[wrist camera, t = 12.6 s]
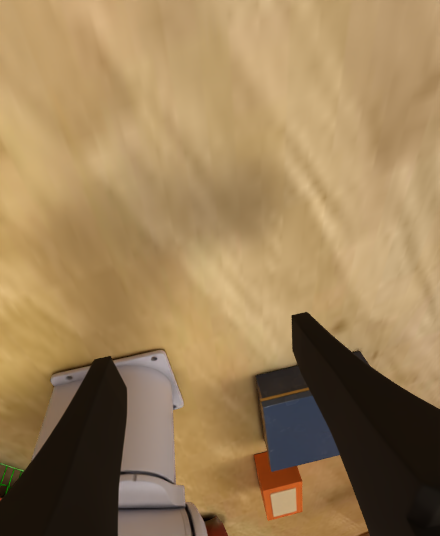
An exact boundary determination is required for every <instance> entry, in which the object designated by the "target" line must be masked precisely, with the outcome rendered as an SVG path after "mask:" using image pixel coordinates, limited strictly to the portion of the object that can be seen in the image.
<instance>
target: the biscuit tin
mask: <svg viewBox="0 0 440 536" xmlns="http://www.w3.org/2000/svg"><path fill="white" fill-rule="evenodd" d="M354 354H355V355H356V356H357V357H359V358H360V359H361V360H363V361H364V362H365V363H367V364H368V362H367V361H366V359H365V358H364V357H363V355H362V354H361V352H360V351H358V352H354ZM368 365H369V364H368ZM369 366H370V365H369ZM256 384H257V391H258V398H259V405H260V412H261V420H262V427H263V434H264V440H265V444H266V448H267V453H268V461H269V466H270V469H271V472H273V471H277V470H281V469H285V468H289V467H293V466H297V465H301V464H305V463H309V462H313V461H317V460H321V459H325V458H329V457H333V456H337V455H340V454H339V451H338V449H337V446H336V444H335V441H334V439H333V436H332V434H331V432H330V430H329V428H328V425H327V423H326V421H325V420H324V418H323V416H322V414H321V412H320V410H319V408H318V406H317V404H316V402H315V400H314V398H313V396H312V394H311V392H310V390H309V388H308V386H307V384H306V382H305V380H304V378H303V376H302V374H301V372H300V369H299V366H294V367H290V368H286V369H281V370H277V371H273V372H269V373H264V374H260V375H256Z"/></svg>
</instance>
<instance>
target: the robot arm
mask: <svg viewBox="0 0 440 536" xmlns="http://www.w3.org/2000/svg"><path fill="white" fill-rule="evenodd" d="M292 349H293V353H294V356H295V358H296V361H297V364H298V366H299V369H300V372H301V374H302V376H303V378H304V380H305V382H306V384H307V386H308V388H309V390H310V392H311V394H312V396H313V398H314V400H315V402H316V404H317V406H318V408H319V410H320V412H321V414H322V416H323V418H324V420H325V421H326V423H327V425H328V428H329V430H330V432H331V434H332V436H333V439H334V441H335V444H336V446H337V449H338V451H339V454H340V456H341V459H342V461H343V464H344V466H345V469H346V471H347V474H348V477H349V479H350V482H351V484H352V487H353V490H354V492H355V495H356V498H357V500H358V503H359V506H360V509H361V511H362V514H363V517H364V519H365V522H366V525H367V528H368V531H369V534H370V536H440V409H438V408H436V407H435V406H433V405H431V404H429V403H427V402H426V401H424V400H422V399H420V398H418V397H417V396H415V395H413V394H411V393H410V392H408V391H407V390H405V389H403V388H402V387H400V386H399V385H397V384H395V383H394V382H392V381H391V380H389V379H388V378H386V377H385V376H383V375H382V374H380V373H379V372H378V371H376V370H375V369H373V368H372V367H371V366H369V365H368V364H367V363H365V362H364V361H363V360H361V359H360V358H359V357H357V356H356V355H355V354H354V353H352V352H351V351H350V350H349V349H348V348H346V347H345V346H344V345H343V344H342V343H340V342H339V341H338V340H337V339H336V338H335V337H333V336H332V335H331V334H330V333H329V332H328V331H327V330H326V329H325V328H323V327H322V326H321V325H320V324H319V323H318V322H317V321H316V320H315V319H314V318H313V317H312V316H311V315H310V314H309V313H307V312H305V313H300V314H296V315H292ZM50 381H51V383H52V384H53V386H54V389H53V392H52V395H51V398H50V401H49V405H48V408H47V411H46V414H45V417H44V420H43V424H42V427H41V430H40V433H39V436H38V439H37V443H36V446H35V449H34V452H33V456H32V460H31V463H30V464H29V466H28V467H27V468H26V470H25V471H24V472H23V473H22V475H21V476H20V477H19V479H18V480H17V481H16V482H15V484H14V485H13V486H12V487H11V488H10V490H9V491H8V492H7V493H6V495H5V496H4V497H3V498H2V499H1V501H0V536H208V534H207V530H206V526H205V523H204V521H203V518H202V517H201V515H200V514H199V512H198V509H197V508H196V506H195V505H194V504H193V503H191V502H185V491H184V486H183V485H176V474H175V450H174V425H173V410H175V409H179V408H182V407H183V406H184V402H183V399H182V396H181V393H180V390H179V388H178V385H177V382H176V380H175V377H174V374H173V371H172V369H171V366H170V363H169V361H168V358H167V355H166V353H165V351H163V350H157V351H153V352H148V353H144V354H139V355H135V356H131V357H126V358H122V359H117V360H112V358H111V356H108V357H104V358H99V359H95V360H94V361H93V363H92V365H91V366H87V367H82V368H78V369H73V370H69V371H65V372H60V373H56V374H53V375H52V376H51V379H50Z"/></svg>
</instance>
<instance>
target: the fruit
mask: <svg viewBox="0 0 440 536" xmlns="http://www.w3.org/2000/svg"><path fill="white" fill-rule="evenodd" d="M204 523H205V526H206V530H207V534H208V536H228V535H227V532H226V530H225V527H224V525H223V523H222V522H221V521H220V520H218V518H217V516H215V518H213V519H211V520H208V521H204Z"/></svg>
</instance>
